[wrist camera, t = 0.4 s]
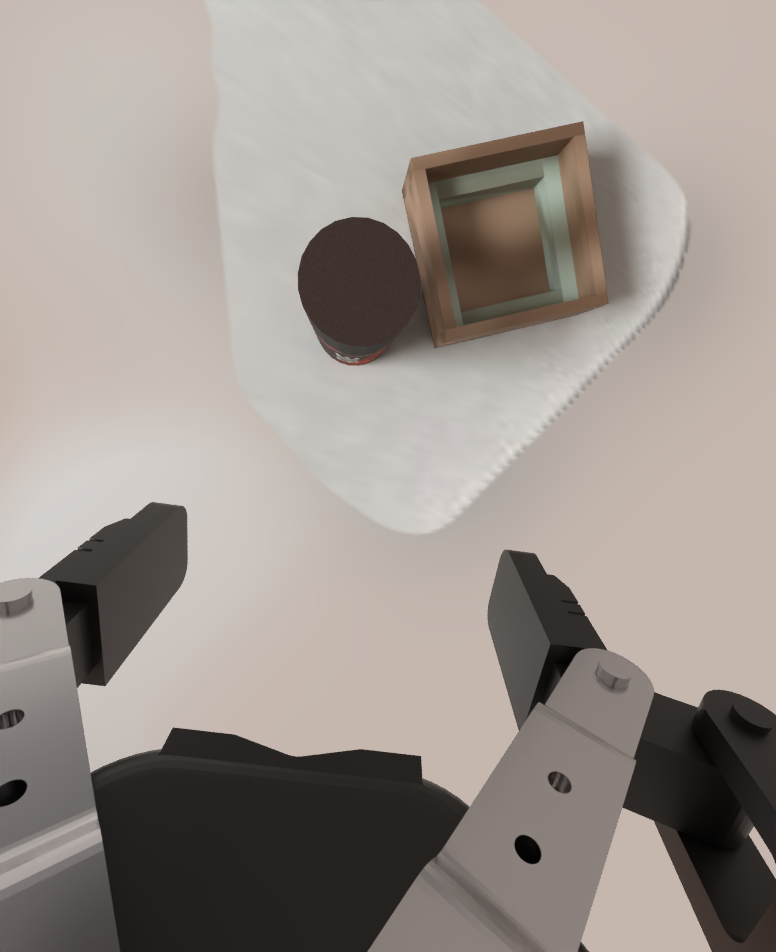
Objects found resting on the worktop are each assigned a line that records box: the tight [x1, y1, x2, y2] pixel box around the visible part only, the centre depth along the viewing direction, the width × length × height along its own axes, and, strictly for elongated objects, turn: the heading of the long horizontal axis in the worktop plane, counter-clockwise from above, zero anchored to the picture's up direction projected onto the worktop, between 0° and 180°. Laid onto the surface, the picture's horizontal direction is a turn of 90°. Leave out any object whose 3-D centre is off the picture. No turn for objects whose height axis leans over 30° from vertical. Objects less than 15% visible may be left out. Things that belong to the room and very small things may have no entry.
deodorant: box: [298, 217, 420, 365], centre depth 30 cm, size 6×6×15 cm
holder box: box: [402, 122, 608, 348], centre depth 35 cm, size 12×12×5 cm
